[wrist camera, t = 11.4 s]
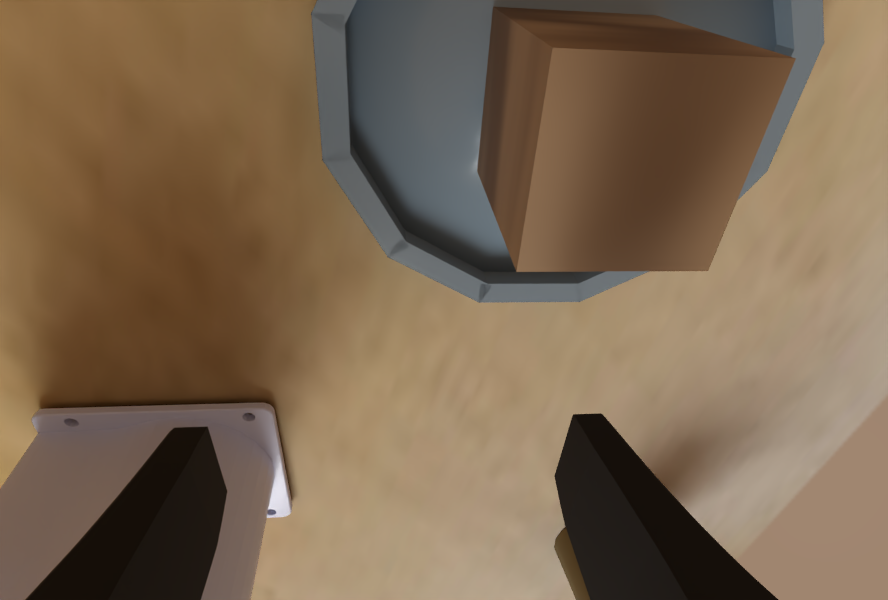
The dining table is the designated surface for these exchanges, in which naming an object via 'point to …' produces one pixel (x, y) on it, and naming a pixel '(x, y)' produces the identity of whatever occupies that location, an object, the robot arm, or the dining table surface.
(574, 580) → the cork
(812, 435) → the dining table surface
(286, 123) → the dining table surface
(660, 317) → the dining table surface
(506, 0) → the plate
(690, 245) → the block
